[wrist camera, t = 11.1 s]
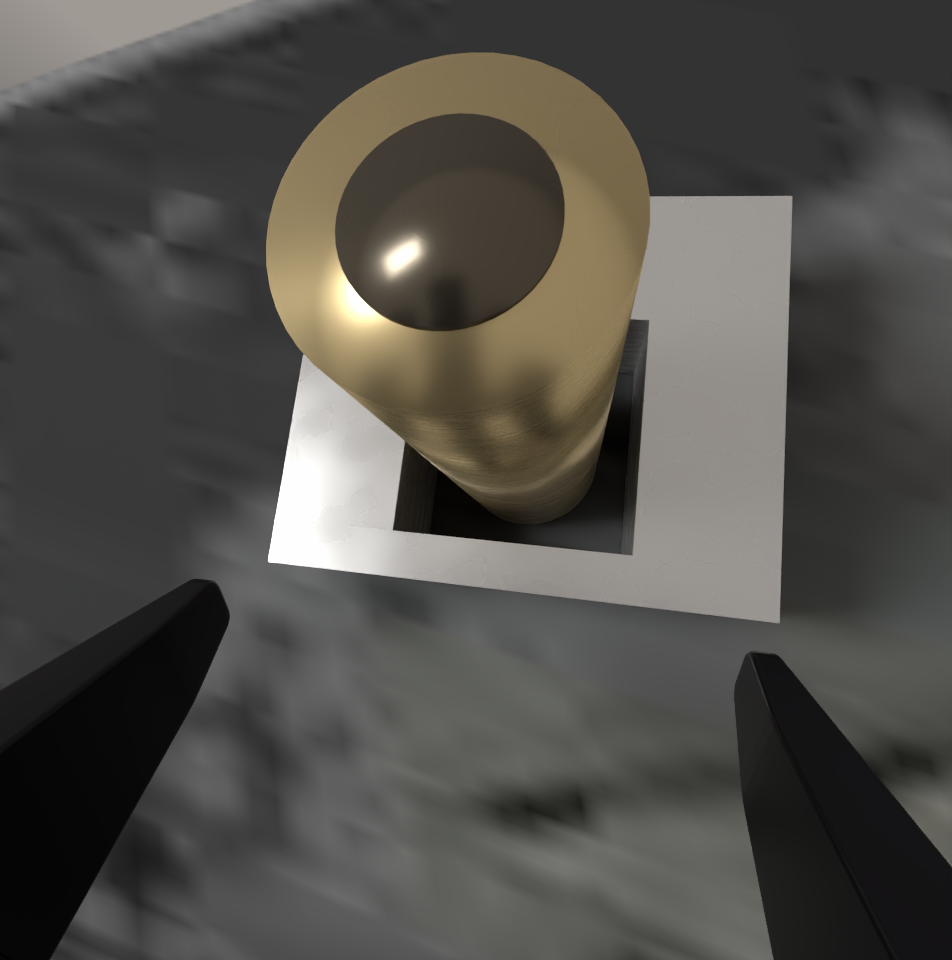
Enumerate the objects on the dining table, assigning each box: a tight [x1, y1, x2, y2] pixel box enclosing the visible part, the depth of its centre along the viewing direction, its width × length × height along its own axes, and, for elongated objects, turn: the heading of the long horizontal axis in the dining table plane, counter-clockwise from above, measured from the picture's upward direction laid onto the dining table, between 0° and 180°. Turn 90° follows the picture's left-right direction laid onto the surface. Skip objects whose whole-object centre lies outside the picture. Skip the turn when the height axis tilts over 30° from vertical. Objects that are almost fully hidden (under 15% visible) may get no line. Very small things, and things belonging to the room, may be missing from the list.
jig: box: [268, 196, 792, 623], centre depth 17 cm, size 11×13×4 cm
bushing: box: [266, 53, 650, 525], centre depth 13 cm, size 4×4×13 cm
